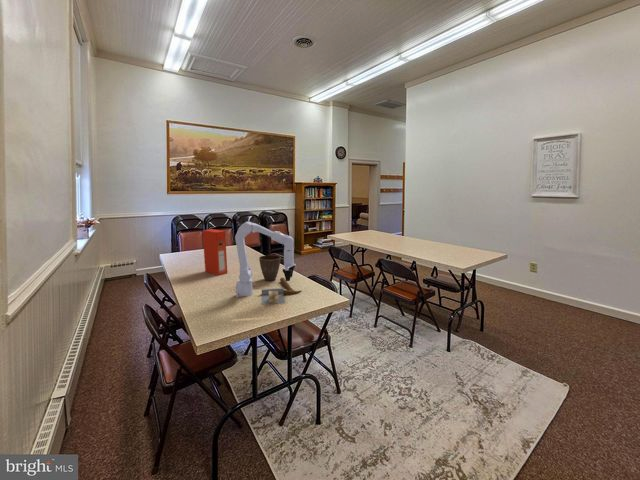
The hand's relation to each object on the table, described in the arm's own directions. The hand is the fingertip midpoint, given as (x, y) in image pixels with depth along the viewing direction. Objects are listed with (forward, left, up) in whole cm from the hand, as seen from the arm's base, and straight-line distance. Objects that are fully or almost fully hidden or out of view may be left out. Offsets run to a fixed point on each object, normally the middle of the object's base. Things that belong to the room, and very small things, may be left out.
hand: (289, 279), depth 184 cm
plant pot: (-10, +33, -10) cm, 36 cm away
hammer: (0, +12, -10) cm, 16 cm away
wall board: (-10, -7, -10) cm, 16 cm away
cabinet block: (-10, -12, -9) cm, 18 cm away
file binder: (-50, +58, -10) cm, 77 cm away
